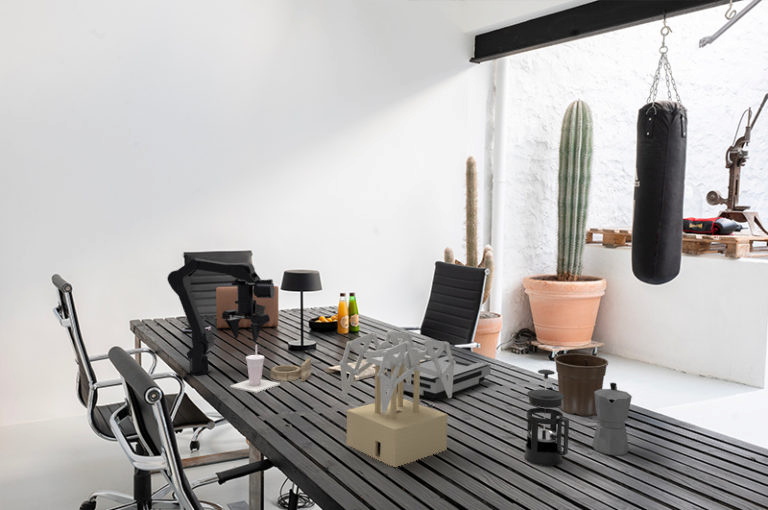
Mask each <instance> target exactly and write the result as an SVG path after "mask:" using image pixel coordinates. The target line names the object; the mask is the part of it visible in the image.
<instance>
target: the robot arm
mask: <svg viewBox="0 0 768 510" xmlns="http://www.w3.org/2000/svg"><path fill="white" fill-rule="evenodd" d="M255 270H256V268H255V266H254V265H253V264H252V263H251V262H233V263H232V262H231V263H230V262H229V263H228V262H224V261H217V260H216V261H215V260H208V259H202V258H199V257H197V258H196V257H195V258H192V259H190V260H189V262H187V263H186V264H184V265H182V266H181V267H180V268H178V269H176V270H172V271H170V273H168V275H167V277H166V278H167V282H168V284H169V286H170V288H171V289H172V291H173V292H174V293H175V294H176V296H178V299H179V301H180V304H181V307H182V309H183V313H184V315H185V317H186V319H187V322H188V326H189V328H190V331H191V344H192V347H191V349H189V350H188V351H187V352H186V356H187V359H189V370H188V371H186V374H189V375H195V376H201V375H205V374H208V373H212V370H210V369H209V359H208V358H209V357H208V355H209V353H210V351H211V350H212V349H213V348H214V346H215V340H216V338H215V337H214V336H213V331H212V329H209V330H207V329H206V327H205V326H204V324H203V321H202V318H201V316H200V312H199V309H198V307H197V304H196V301H195V300H194V296H193V295H192V292H191V291H192V290H191V289H192V286H191V285H192V284H191V283H192V282H191V281H192V280H191V277H192V276H193V275H194V274H195V273H196V272H198V271H203V272H209V273H210V272H211V273H218V274H224V275H227V276H230V277H232V278H235V279H234V281H233V282H232V283H231V286H237V287H236V289H237V292H236V293H237V298H236V300H234V303H235V304H237V309H227V310H223V312H222V314H221V319H223V320H224V322H226V323H227V326H228V327H229V329H230V331H231V332H232V334H233V336H234V338H235V339H238V338H239V328H240V327H239V325H240V323H241V319H242V320H243V319H244V320H250V322H251V323H250V330H251V335H252V340H253V342H254V343H255V342H257V340H258V338H259V334H260V331H261V330H262V327H264V326H265V325H266V324H267V323H270V314H268V313H265V309H266V306H264V305H261V304H257V300H256V299H254V297H255V296H256V298H257V299H273V298H274V297H275V291H276V289H275V288H276V287H275V284H274V280H273V279H271V278H270V279H269V278H268V279H261V278H260V276H259V275H258V273H257V272H256V271H255Z"/></svg>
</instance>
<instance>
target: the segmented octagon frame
mask: <svg viewBox="0 0 768 510" xmlns="http://www.w3.org/2000/svg"><path fill="white" fill-rule="evenodd" d="M310 376H312V358H311V357H310V358H307V359H305V361H304V362H302V364H301V366H297V365H294V364H290V365H289V364H283V365H277V366H276V365H275V366H273V367H271V368H270V379H272V378H273V380H274V379H275V380H274V381H277V380H281V381H280V382H291V381H296V379H297V380H300V382H301V381H305V380H307V379H308V378H309V377H310ZM305 382H306V381H305Z"/></svg>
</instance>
